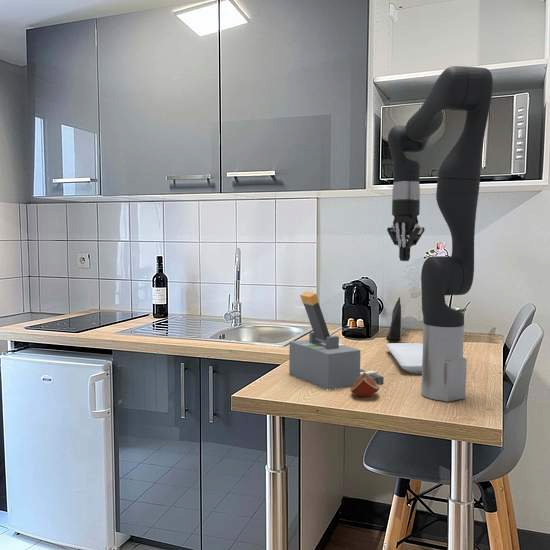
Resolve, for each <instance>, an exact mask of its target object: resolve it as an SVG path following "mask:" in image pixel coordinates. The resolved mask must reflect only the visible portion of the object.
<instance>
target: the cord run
mask: <svg viewBox="0 0 550 550" xmlns="http://www.w3.org/2000/svg"><path fill="white" fill-rule="evenodd" d="M364 372H365V373H366V374H367V375H369V376H370V377H371V378H372V379H373V380H374V381H375V382H376V383H377V385H383V384H384V376H382V375H380V374H378V372H377V371H376V370H368V371H367V370H364V369H361V368H360V376H361V375H362V374H363V373H364Z"/></svg>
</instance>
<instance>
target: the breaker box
mask: <svg viewBox="0 0 550 550" xmlns="http://www.w3.org/2000/svg"><path fill="white" fill-rule="evenodd" d="M308 335H309V336H308V338H309V339H301V340H294V341H293V340H291V341H289V350H288V351H289V360H288V361H289V363H288V364H289V366H288V367H289V371H288V373H289V374H288V375H291V376H293V377H295V378H297V379H300V380H302V381H305V382H307V383H309V382H310V383H309V384H311V385H314V386H317V387H319V386H320V388H321V387H322V389H324V388H325V389H324V390H326V389H328V390H327V391H330V390H329V389H332V390H336V389H335V388H338V389H341V388H340V387H344V388H347V387H346V386H350V387H352V386H353V385H354V383H355V381H356V380H357V378H358V377H360V369H361V349H358V348H354V347H351V346H348V345H346V344H343V343H340V337H339V336H338V335H330V337H326V343H323V342H319V341H316V339H315V335H314V332H313V331H310V332H309V334H308Z"/></svg>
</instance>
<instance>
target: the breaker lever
mask: <svg viewBox="0 0 550 550" xmlns="http://www.w3.org/2000/svg"><path fill="white" fill-rule="evenodd" d="M300 299H301V302H302V304H303V306H304V309H305V311H306V315H307V318H308V320H309V323H310V326H311V328H312V332H314V335H315V339H316V341H319V342H323V343H326V337H330V336H331V334H330V333H329V329H328V326H327V323H326V320H325V318H324V314H323V312H322V309H321V306H320V303H319V302H320V301H319V298H318V296H317V293H315V292H311V291H310V292H309V291H308V292H307V291H305V292H303V293H302V294H300Z"/></svg>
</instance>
